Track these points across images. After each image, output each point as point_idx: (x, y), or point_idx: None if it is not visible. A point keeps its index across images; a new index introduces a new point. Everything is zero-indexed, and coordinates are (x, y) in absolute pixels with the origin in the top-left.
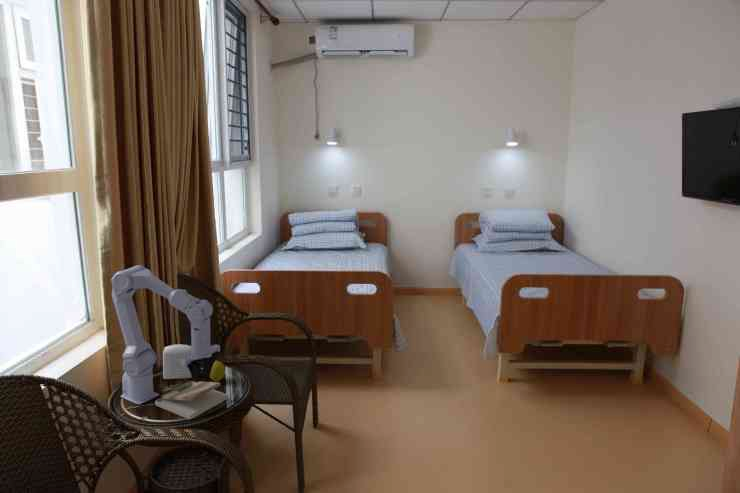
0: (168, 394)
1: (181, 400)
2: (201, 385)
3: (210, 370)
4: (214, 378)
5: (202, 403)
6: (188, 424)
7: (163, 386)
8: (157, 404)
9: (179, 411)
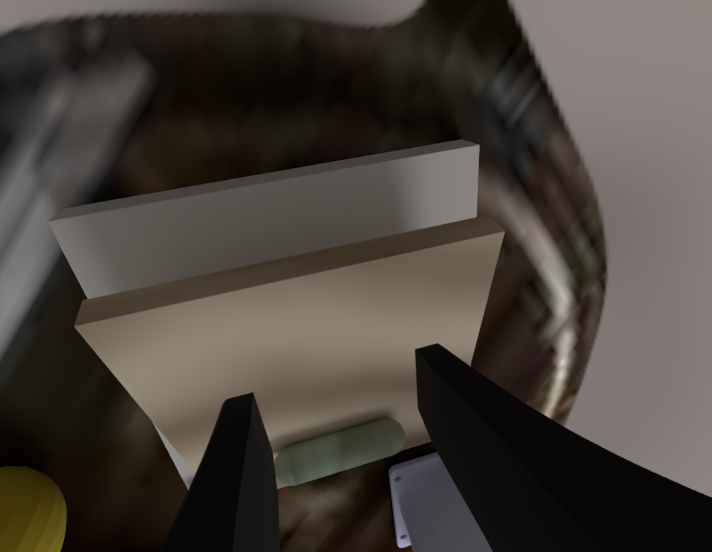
0: None
1: None
2: None
3: (217, 481)
4: (42, 486)
5: (314, 234)
6: (506, 92)
7: (321, 525)
8: None
9: None
